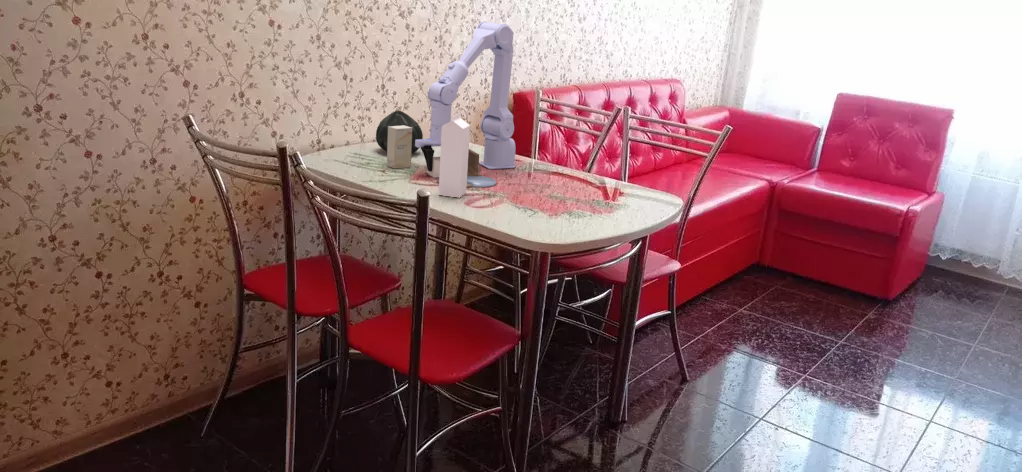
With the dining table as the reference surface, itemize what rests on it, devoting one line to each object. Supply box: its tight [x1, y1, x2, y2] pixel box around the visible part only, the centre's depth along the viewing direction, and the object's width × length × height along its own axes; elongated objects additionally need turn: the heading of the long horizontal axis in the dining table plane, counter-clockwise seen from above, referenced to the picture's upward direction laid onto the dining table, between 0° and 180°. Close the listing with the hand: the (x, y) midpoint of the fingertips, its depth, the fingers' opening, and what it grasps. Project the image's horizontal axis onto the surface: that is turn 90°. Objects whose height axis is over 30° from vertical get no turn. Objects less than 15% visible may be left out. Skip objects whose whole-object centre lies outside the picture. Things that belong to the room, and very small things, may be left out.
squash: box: [375, 110, 424, 155], centre depth 241 cm, size 14×15×15 cm
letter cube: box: [427, 156, 440, 179], centre depth 219 cm, size 5×5×5 cm
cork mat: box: [436, 179, 474, 189], centre depth 211 cm, size 8×8×1 cm
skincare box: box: [386, 125, 412, 169], centre depth 224 cm, size 6×4×12 cm
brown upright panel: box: [467, 148, 483, 176], centre depth 224 cm, size 4×13×7 cm, turn 27°
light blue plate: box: [467, 175, 497, 189], centre depth 215 cm, size 11×11×1 cm
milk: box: [438, 111, 471, 199], centre depth 198 cm, size 6×6×22 cm
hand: (438, 170), depth 219 cm, fingers closed on letter cube, 5 cm apart
